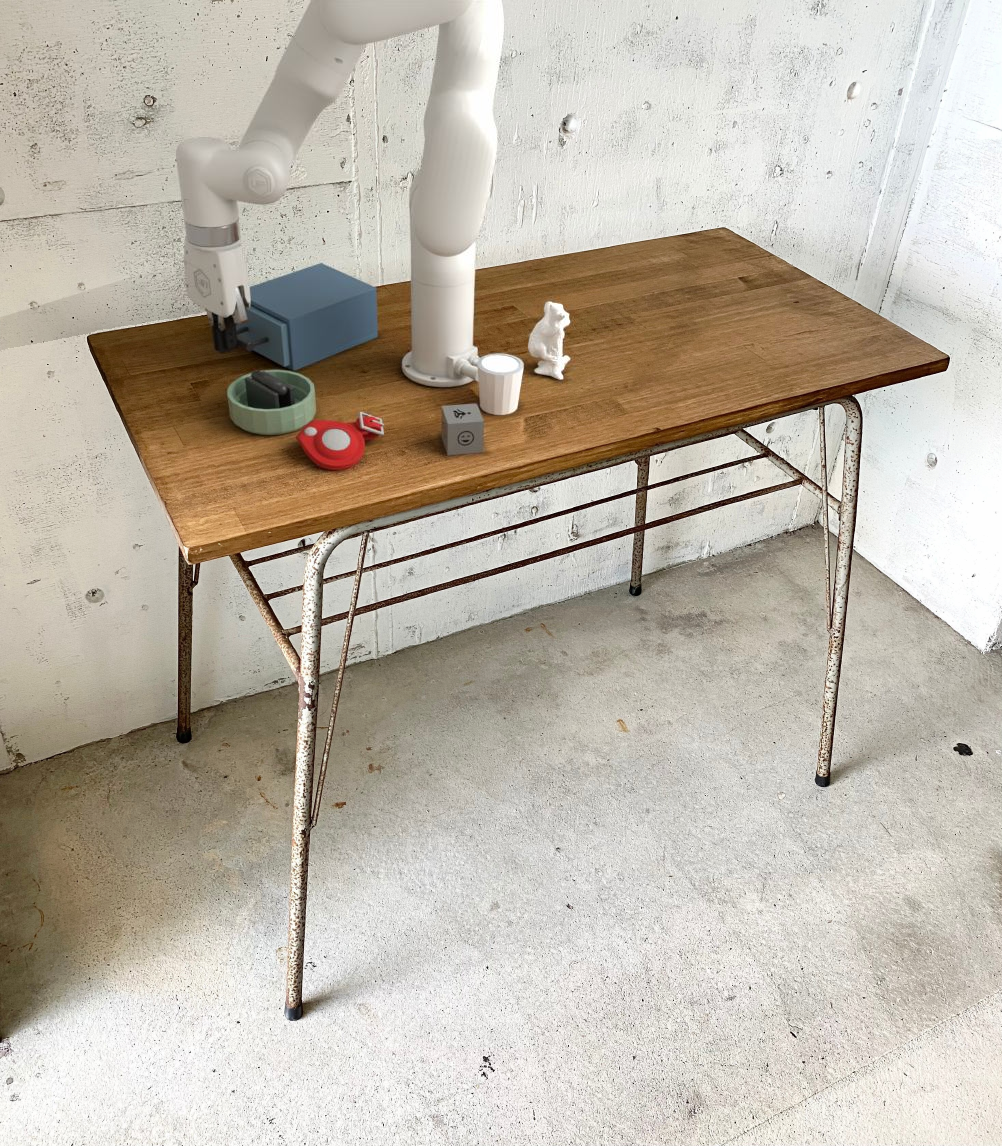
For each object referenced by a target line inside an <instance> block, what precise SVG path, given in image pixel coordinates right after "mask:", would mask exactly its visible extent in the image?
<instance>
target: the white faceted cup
mask: <svg viewBox="0 0 1002 1146" xmlns="http://www.w3.org/2000/svg"><path fill="white" fill-rule="evenodd" d="M479 358H480V359H479V360H478V363H477V368H478V381H477V382H478V397H479V407H480V408H481V410H482V411H483V412H486V413H487V414H490V415H494V416H504V415H510V414H512V413H515V412H516V411H517V410H518V406H519V401H520V400H519V398H520V392H521V386H522V379H523V373H524V367H525V366H524V365H525V363H524V362H523V360H522V359H521V358H519V357H517V356H516V355H512V354H508V353H500V352H499V353H489V354H486V355H483V356H481V357H479Z"/></svg>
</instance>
